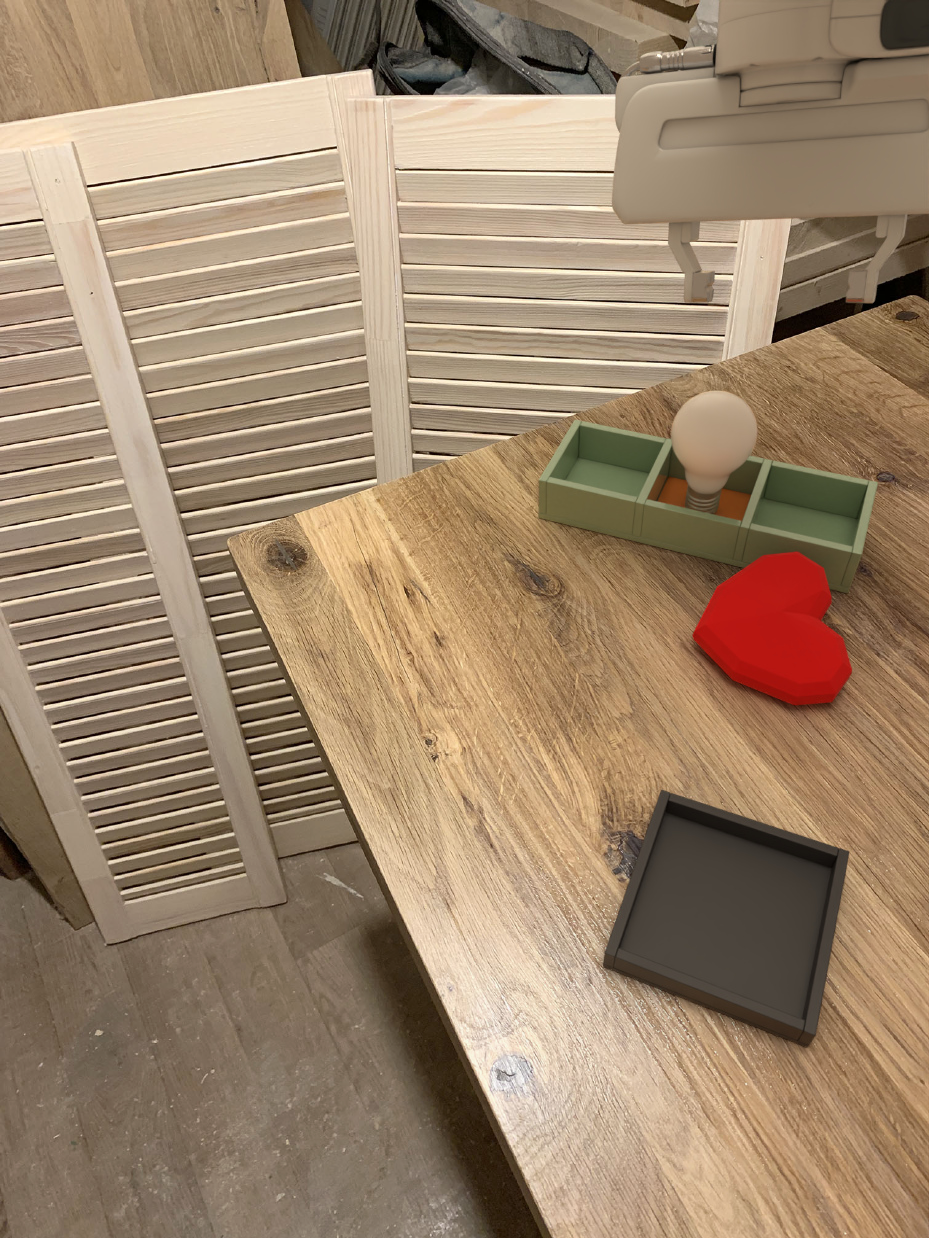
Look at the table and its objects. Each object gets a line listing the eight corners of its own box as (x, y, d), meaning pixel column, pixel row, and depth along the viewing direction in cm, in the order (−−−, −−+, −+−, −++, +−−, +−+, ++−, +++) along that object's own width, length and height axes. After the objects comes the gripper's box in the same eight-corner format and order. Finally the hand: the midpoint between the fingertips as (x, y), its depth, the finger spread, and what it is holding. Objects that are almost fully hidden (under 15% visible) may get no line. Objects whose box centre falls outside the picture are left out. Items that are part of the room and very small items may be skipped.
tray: (841, 866, 55) (849, 850, 54) (807, 1048, 48) (815, 1035, 47) (658, 805, 59) (661, 788, 57) (602, 966, 52) (604, 952, 51)
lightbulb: (691, 477, 79) (709, 364, 71) (755, 509, 76) (782, 395, 68) (645, 514, 76) (658, 400, 68) (709, 549, 73) (731, 435, 65)
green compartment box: (864, 521, 75) (878, 481, 72) (848, 594, 70) (862, 554, 67) (573, 457, 83) (574, 419, 80) (538, 518, 78) (538, 479, 75)
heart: (703, 723, 65) (852, 711, 63) (706, 694, 61) (864, 681, 60) (679, 584, 71) (814, 570, 70) (681, 551, 68) (822, 535, 66)
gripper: (598, 49, 52) (594, 307, 58) (1014, 0, 43) (962, 308, 49) (632, 61, 57) (626, 297, 63) (1010, 19, 49) (963, 297, 54)
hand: (776, 302), depth 56 cm, fingers open, 8 cm apart
